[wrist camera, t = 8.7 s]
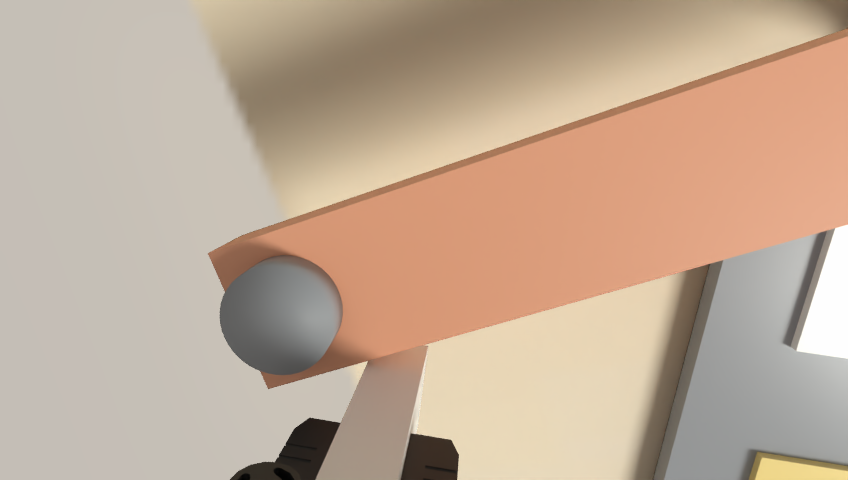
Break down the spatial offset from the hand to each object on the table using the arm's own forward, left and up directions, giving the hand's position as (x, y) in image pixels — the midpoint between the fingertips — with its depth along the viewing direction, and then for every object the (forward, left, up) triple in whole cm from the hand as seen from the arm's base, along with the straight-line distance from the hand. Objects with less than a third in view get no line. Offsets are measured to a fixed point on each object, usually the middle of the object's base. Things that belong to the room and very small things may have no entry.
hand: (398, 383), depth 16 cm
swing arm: (-8, +7, -7) cm, 13 cm away
